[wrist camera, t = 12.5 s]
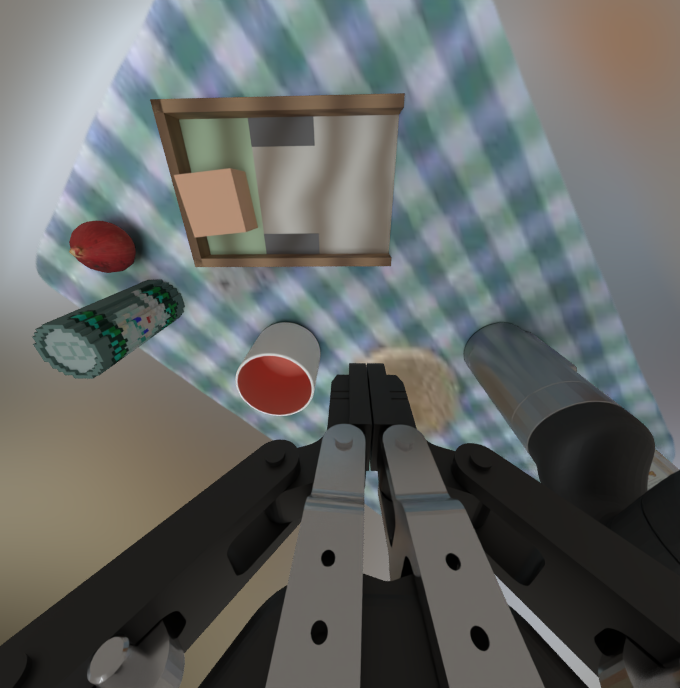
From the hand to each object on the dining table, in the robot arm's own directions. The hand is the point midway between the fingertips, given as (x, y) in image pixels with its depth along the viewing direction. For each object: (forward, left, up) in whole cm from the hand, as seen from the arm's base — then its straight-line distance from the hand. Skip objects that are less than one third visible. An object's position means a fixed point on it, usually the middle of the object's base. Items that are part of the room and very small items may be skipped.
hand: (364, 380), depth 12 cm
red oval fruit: (+30, -2, -27) cm, 41 cm away
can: (+28, +6, -27) cm, 39 cm away
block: (+15, -7, -27) cm, 32 cm away
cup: (+10, +14, -27) cm, 32 cm away
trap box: (+8, -8, -27) cm, 29 cm away
